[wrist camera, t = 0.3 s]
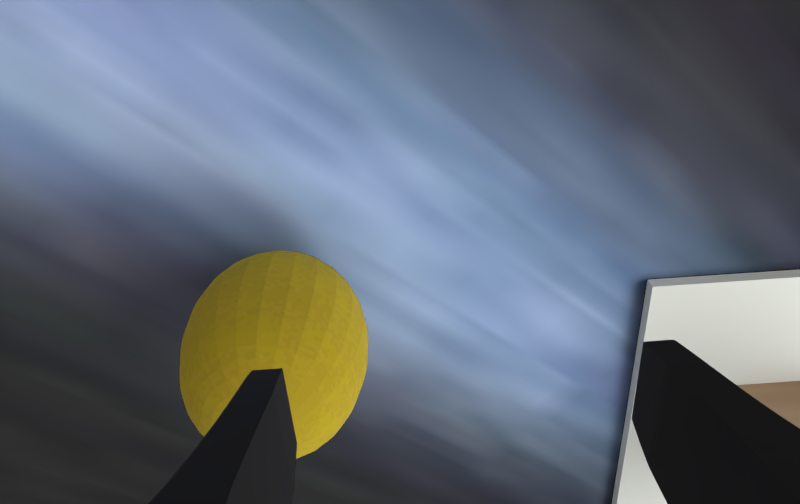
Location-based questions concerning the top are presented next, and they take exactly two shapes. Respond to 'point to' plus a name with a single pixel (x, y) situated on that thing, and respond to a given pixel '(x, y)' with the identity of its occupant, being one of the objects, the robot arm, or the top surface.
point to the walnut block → (778, 398)
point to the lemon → (277, 342)
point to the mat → (714, 345)
